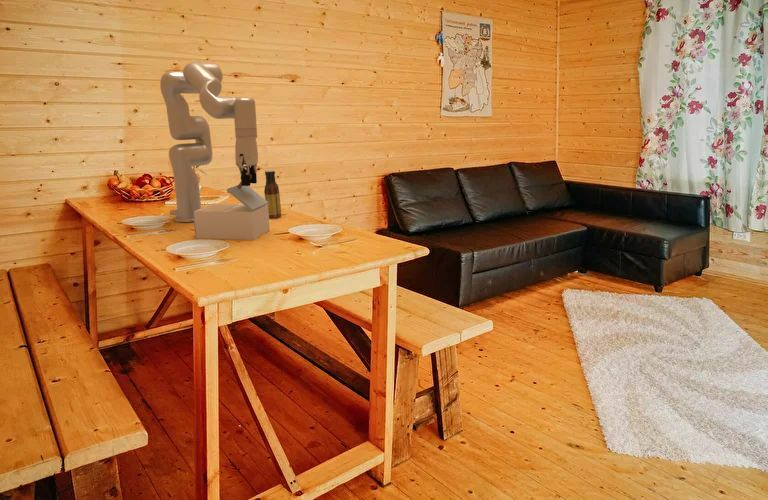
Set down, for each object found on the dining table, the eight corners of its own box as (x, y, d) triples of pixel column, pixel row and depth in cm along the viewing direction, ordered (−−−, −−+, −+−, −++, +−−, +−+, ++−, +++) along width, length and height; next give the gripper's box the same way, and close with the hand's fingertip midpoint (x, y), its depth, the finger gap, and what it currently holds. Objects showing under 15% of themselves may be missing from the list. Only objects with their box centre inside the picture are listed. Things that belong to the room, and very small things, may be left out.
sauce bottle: (277, 215, 248) (274, 169, 243) (284, 217, 243) (281, 170, 238) (263, 217, 244) (260, 170, 239) (270, 219, 239) (267, 172, 234)
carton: (195, 238, 208) (192, 210, 205) (214, 228, 223) (212, 203, 220) (253, 239, 204) (251, 211, 201) (269, 230, 219) (267, 203, 217)
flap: (226, 190, 201) (237, 175, 199) (243, 184, 216) (253, 170, 214) (251, 211, 202) (262, 196, 200) (266, 203, 216) (277, 189, 214)
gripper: (245, 131, 211) (248, 180, 216) (225, 135, 195) (229, 188, 200) (265, 132, 210) (267, 181, 215) (246, 135, 194) (249, 188, 199)
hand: (249, 184), depth 207 cm, fingers closed on flap, 5 cm apart
